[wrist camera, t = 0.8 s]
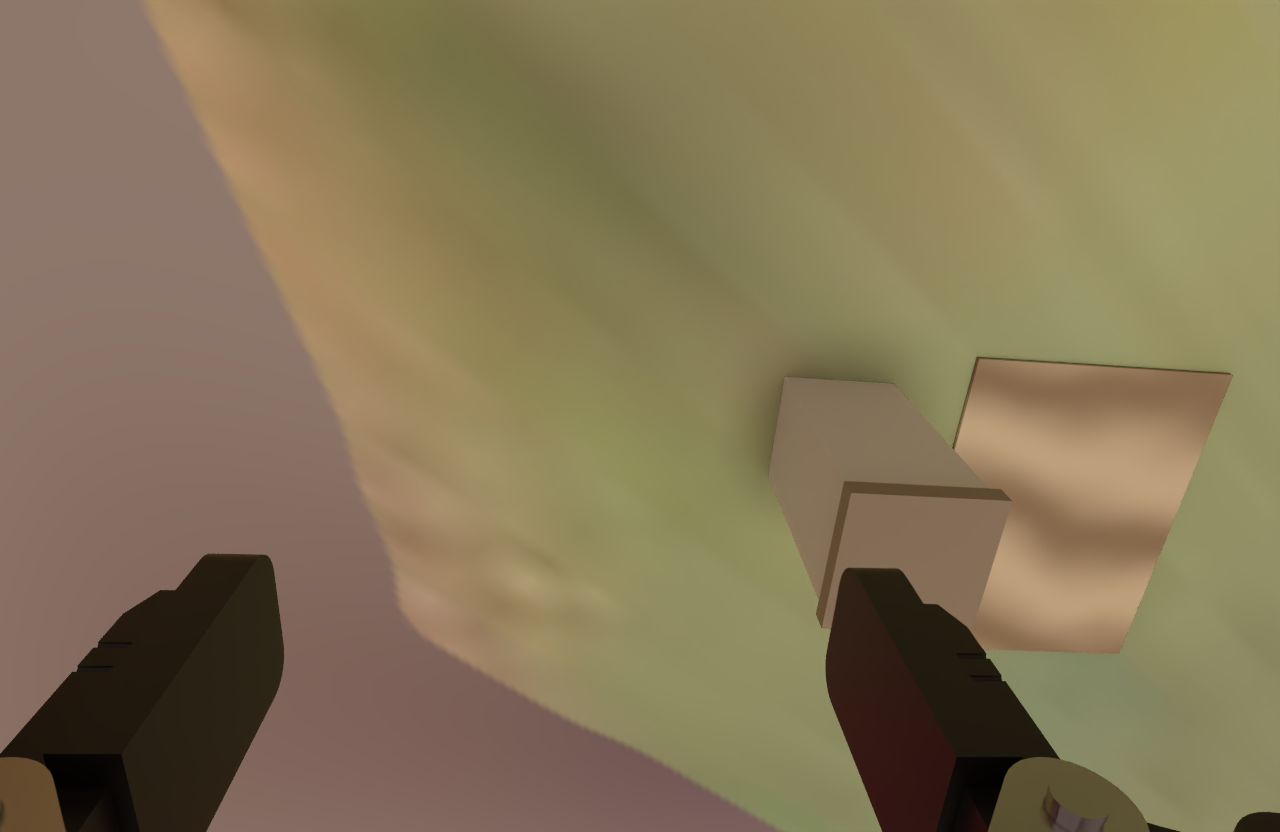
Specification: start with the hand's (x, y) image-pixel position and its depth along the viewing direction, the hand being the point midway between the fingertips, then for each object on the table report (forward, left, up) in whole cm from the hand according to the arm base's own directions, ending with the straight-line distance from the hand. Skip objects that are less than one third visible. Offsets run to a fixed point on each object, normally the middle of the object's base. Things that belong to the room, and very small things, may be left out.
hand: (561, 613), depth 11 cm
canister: (+8, +12, -24) cm, 27 cm away
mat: (+12, +24, -24) cm, 35 cm away
